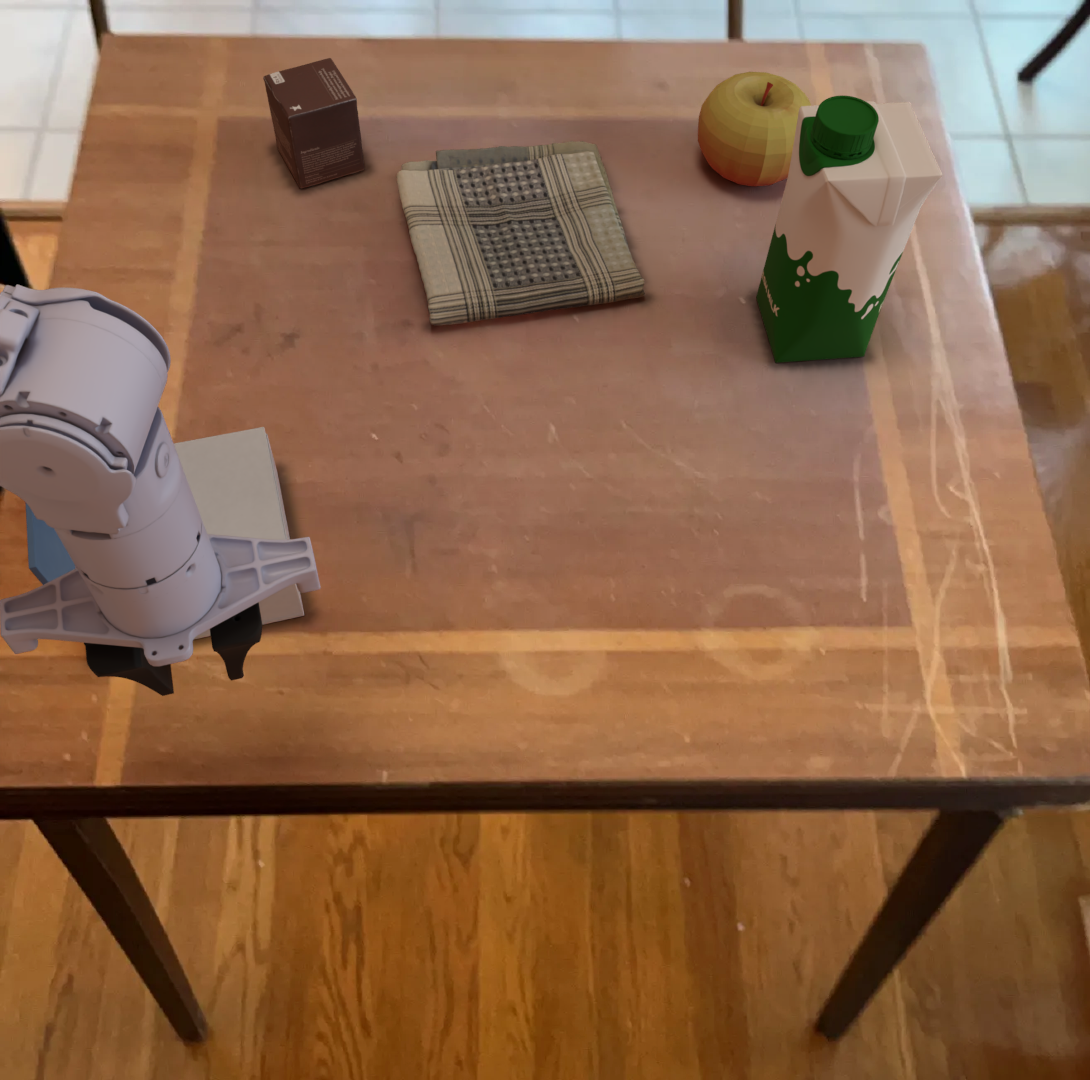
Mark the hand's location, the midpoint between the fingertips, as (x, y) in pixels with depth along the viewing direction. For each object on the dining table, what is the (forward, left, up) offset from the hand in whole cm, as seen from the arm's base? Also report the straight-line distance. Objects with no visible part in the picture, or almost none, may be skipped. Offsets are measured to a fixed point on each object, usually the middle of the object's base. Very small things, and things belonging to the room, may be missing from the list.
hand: (200, 670), depth 63 cm
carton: (-1, +14, -10) cm, 17 cm away
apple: (+50, +43, -11) cm, 67 cm away
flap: (-8, +14, -2) cm, 16 cm away
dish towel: (+28, +39, -11) cm, 49 cm away
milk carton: (+48, +24, -11) cm, 55 cm away
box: (+14, +52, -11) cm, 55 cm away
